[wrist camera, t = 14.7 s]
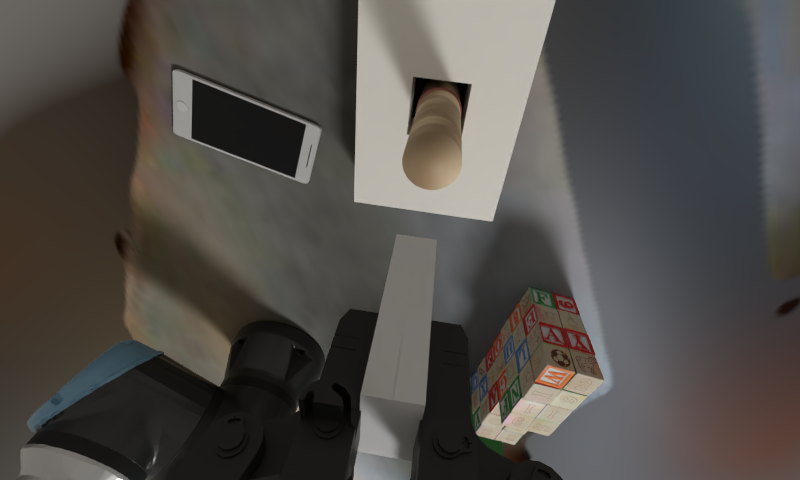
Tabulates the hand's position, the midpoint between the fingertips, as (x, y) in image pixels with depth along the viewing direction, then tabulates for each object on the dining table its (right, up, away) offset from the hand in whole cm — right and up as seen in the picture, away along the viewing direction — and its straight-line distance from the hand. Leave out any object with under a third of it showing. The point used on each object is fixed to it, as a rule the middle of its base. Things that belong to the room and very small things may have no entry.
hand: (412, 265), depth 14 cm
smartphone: (-17, +13, +26) cm, 33 cm away
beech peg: (+3, +15, +21) cm, 26 cm away
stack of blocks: (+17, -14, +39) cm, 45 cm away
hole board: (+3, +15, +21) cm, 26 cm away
